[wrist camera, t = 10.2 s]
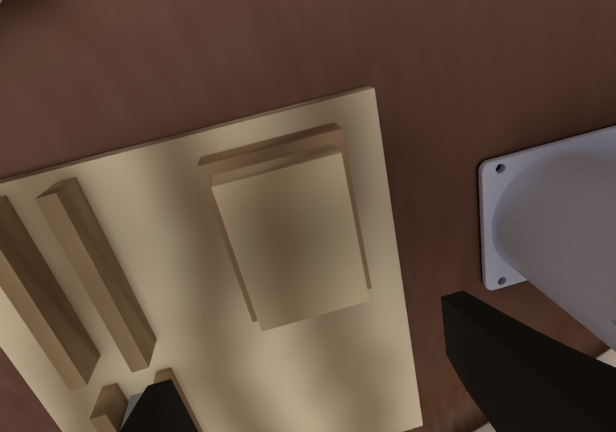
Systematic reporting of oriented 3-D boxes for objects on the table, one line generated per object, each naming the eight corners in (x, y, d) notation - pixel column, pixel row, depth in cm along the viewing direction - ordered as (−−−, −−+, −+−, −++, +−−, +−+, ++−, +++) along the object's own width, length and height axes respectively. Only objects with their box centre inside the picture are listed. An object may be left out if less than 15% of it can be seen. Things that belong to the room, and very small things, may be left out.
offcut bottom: (334, 122, 17) (342, 128, 16) (363, 272, 21) (371, 288, 19) (200, 157, 17) (197, 166, 16) (251, 303, 20) (252, 322, 19)
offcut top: (332, 143, 16) (341, 152, 15) (360, 282, 19) (369, 300, 18) (213, 174, 16) (210, 187, 15) (259, 311, 19) (261, 331, 18)
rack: (367, 85, 18) (390, 93, 15) (416, 412, 27) (436, 453, 24) (-81, 200, 17) (-143, 229, 14) (128, 501, 26) (115, 554, 23)
